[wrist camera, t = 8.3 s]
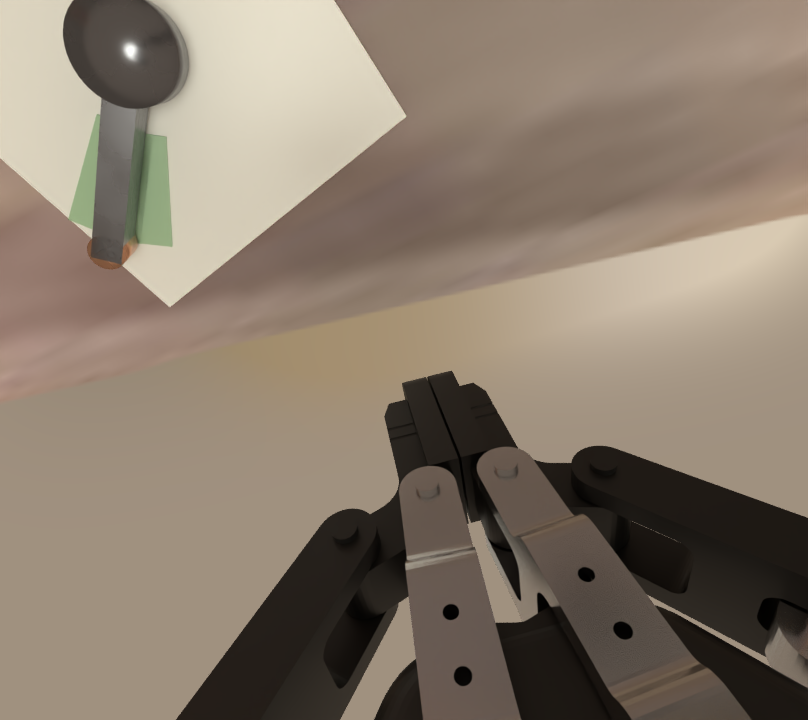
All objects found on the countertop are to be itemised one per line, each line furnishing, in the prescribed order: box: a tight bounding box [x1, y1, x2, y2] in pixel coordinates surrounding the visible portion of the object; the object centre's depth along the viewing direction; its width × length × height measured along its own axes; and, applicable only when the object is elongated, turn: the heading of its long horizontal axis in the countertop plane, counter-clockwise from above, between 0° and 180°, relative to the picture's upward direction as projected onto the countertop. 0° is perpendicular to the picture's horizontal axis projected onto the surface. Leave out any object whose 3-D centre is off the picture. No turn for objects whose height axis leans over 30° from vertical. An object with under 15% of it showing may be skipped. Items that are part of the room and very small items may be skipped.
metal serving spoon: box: [63, 0, 189, 269], centre depth 27 cm, size 14×5×3 cm, turn 160°
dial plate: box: [0, 0, 406, 307], centre depth 27 cm, size 20×22×2 cm
